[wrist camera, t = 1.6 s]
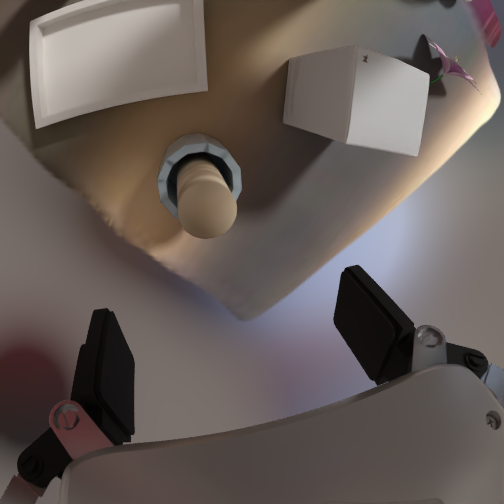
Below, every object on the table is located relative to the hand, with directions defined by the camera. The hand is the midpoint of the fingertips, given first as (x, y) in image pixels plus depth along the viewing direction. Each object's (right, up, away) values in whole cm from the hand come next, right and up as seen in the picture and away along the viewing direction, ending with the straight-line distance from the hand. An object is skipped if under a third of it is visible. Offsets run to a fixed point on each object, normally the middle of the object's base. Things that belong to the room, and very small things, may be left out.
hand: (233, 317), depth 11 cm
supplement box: (+9, +22, +22) cm, 32 cm away
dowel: (-6, +12, +22) cm, 26 cm away
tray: (-15, +25, +13) cm, 32 cm away
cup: (-6, +13, +23) cm, 27 cm away
